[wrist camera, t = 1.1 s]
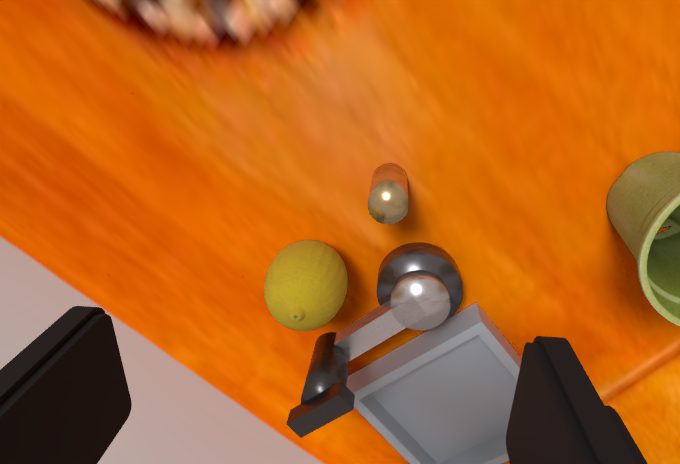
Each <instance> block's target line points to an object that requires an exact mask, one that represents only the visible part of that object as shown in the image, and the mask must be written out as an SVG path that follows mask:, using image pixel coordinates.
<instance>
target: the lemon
mask: <svg viewBox="0 0 680 464" xmlns="http://www.w3.org/2000/svg"><path fill="white" fill-rule="evenodd" d="M347 289H348V274H347V270H346V267H345V263H344V261H343V260H342V258H341V256H340V255H339V254H338V253H337V252H336V251H335V250H334V249H333V248H332V247H331V246H329V245H327V244H326V243H323V242H320V241H317V240H301V241H297V242H294V243H292V244H290V245H288V246H287V247H285V248H284V249H283V250H281V251H280V252H279V253H278V254H277V256H276V257H275V258H274V260H273V261H272V262H271V264H270V266H269V269H268V272H267V275H266V278H265V289H264V296H265V300H266V304H267V307H268V309H269V311H270V313H271V315H272V316H273V317H274V318H275V319H276V320H277V321H278V322H279V323H280V324H282V325H283V326H285V327H287V328H289V329H292V330H297V331H310V330H315V329H318V328H320V327H322V326H324V325H325V324H327V323H328V322H329V321H330V320H331V319H332V318H333V317H334V316H335V315H336V314H337V312H338V311H339V309H340V308H341V306H342V304H343V302H344V300H345V296H346V293H347Z"/></svg>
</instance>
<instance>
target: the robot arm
mask: <svg viewBox="0 0 680 464" xmlns="http://www.w3.org/2000/svg"><path fill="white" fill-rule="evenodd" d="M130 411H131V398H130V394H129V391H128V386H127V382H126V377H125V373H124V369H123V365H122V361H121V357H120V353H119V348H118V344H117V340H116V336H115V332H114V328H113V324H112V319H111V317H110V316H109V315H107V314H105V311H104V310H103V309H102V308H99V307H84V306H76V307H72V308H71V309H69V310H68V311H67V312H66V313H65V314H64V315H63V316H61V317H60V318H59V319H58V320H57V321H56V322H55V323H54V324H52V325H51V326H50V327H49V328H48V329H47V330H45V331H44V332H43V333H42V334H41V335H40V336H39V337H37V338H36V339H35V340H34V341H33V342H32V343H31V344H29V345H28V346H27V347H26V348H25V349H24V350H23V351H21V352H20V353H19V354H18V355H17V356H16V357H15V358H13V360H11V361H10V362H9V363H8V364H7V365H5V366H4V367H3V368H2V369H1V370H0V464H97V463H98V461H99V460H100V458H101V457H102V455H103V454H104V452H105V451H106V450H107V448H108V447H109V445H110V444H111V442H112V441H113V439H114V438H115V436H116V435H117V433H118V432H119V430H120V429H121V427H122V426H123V424H124V423H125V421H126V420H127V418H128V416H129V414H130ZM506 449H507V454H508V457H509V461H510V464H647V462H646V460H645V459H644V457H643V455H642V454H641V452H640V450H639V448H638V447H637V445H636V443H635V442H634V440H633V438H632V436H631V435H630V433H629V431H628V430H627V428H626V426H625V424H624V423H623V421H622V419H621V418H620V416H619V415H618V413H617V412H616V411H615V409H613V408H612V407H610V406H604V404H603V402H602V401H601V399H600V397H599V395H598V393H597V392H596V390H595V388H594V386H593V385H592V383H591V381H590V379H589V377H588V376H587V374H586V372H585V370H584V368H583V367H582V365H581V363H580V361H579V360H578V358H577V356H576V354H575V352H574V351H573V349H572V347H571V345H570V343H569V342H568V341H567V339H565V338H557V337H542V336H537V337H536V338H535V339H534V342H533V343H526V344H525V347H524V351H523V356H522V361H521V365H520V370H519V375H518V380H517V384H516V389H515V394H514V399H513V403H512V408H511V413H510V418H509V422H508V427H507V432H506Z"/></svg>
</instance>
